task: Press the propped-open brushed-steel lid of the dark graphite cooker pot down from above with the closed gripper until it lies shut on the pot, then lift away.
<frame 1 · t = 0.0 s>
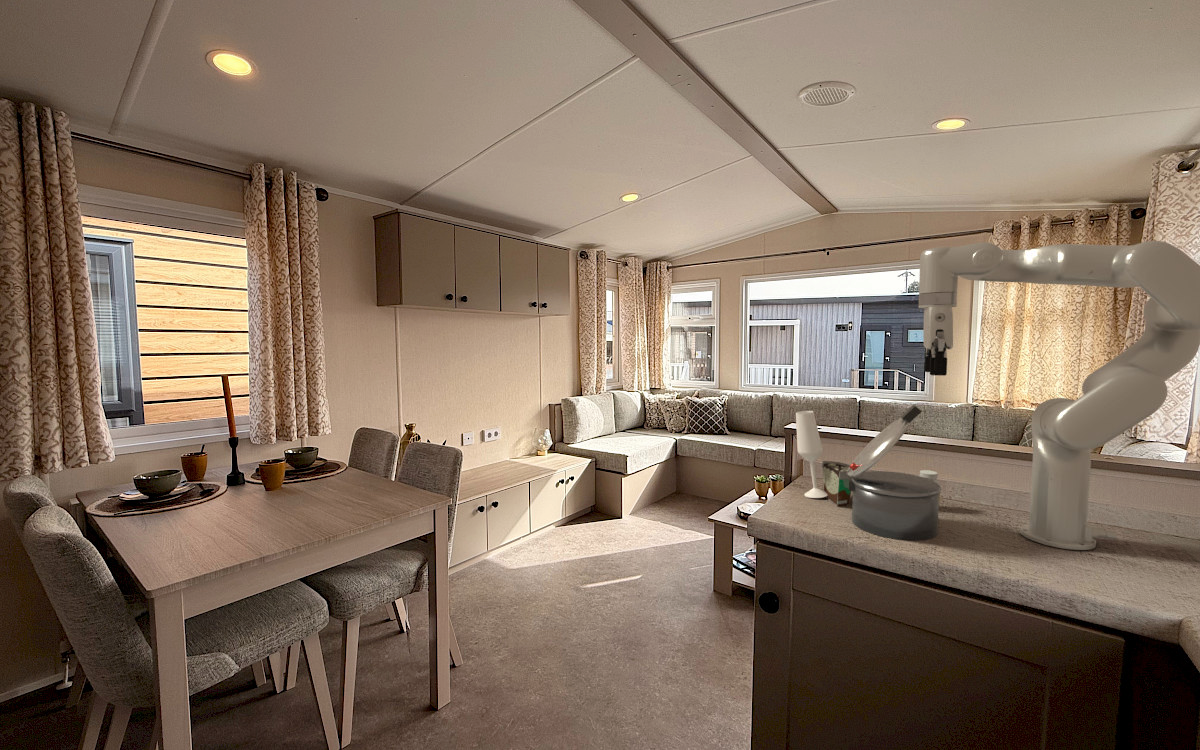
hand: (935, 373, 121), 37 cm above the worktop, tool pointing down, fingers open, 9 cm apart
supplement bottle: (927, 508, 136), on the worktop
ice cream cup: (841, 501, 142), on the worktop
cooker lid: (880, 440, 123), point 21 cm above the worktop, hinge at 50.0°
champagne flute: (816, 494, 146), on the worktop
cooker pot: (893, 525, 123), on the worktop
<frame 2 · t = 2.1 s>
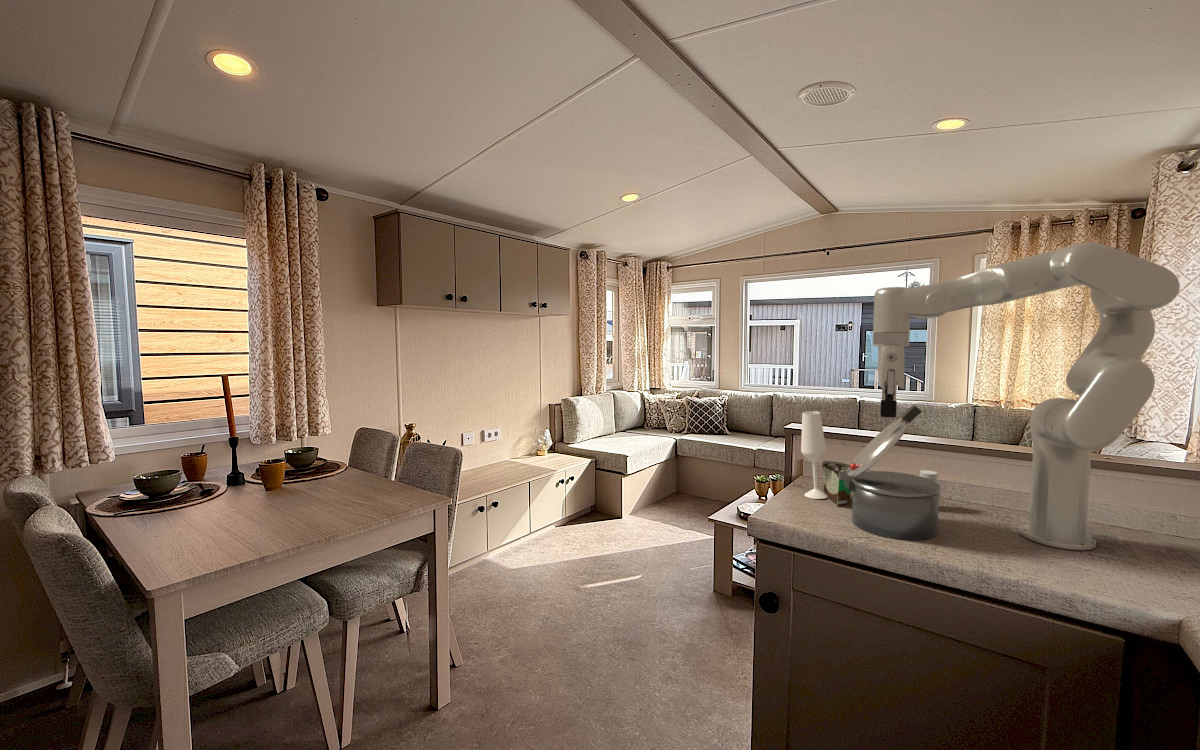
hand: (888, 416, 122), 27 cm above the worktop, tool pointing down, fingers closed
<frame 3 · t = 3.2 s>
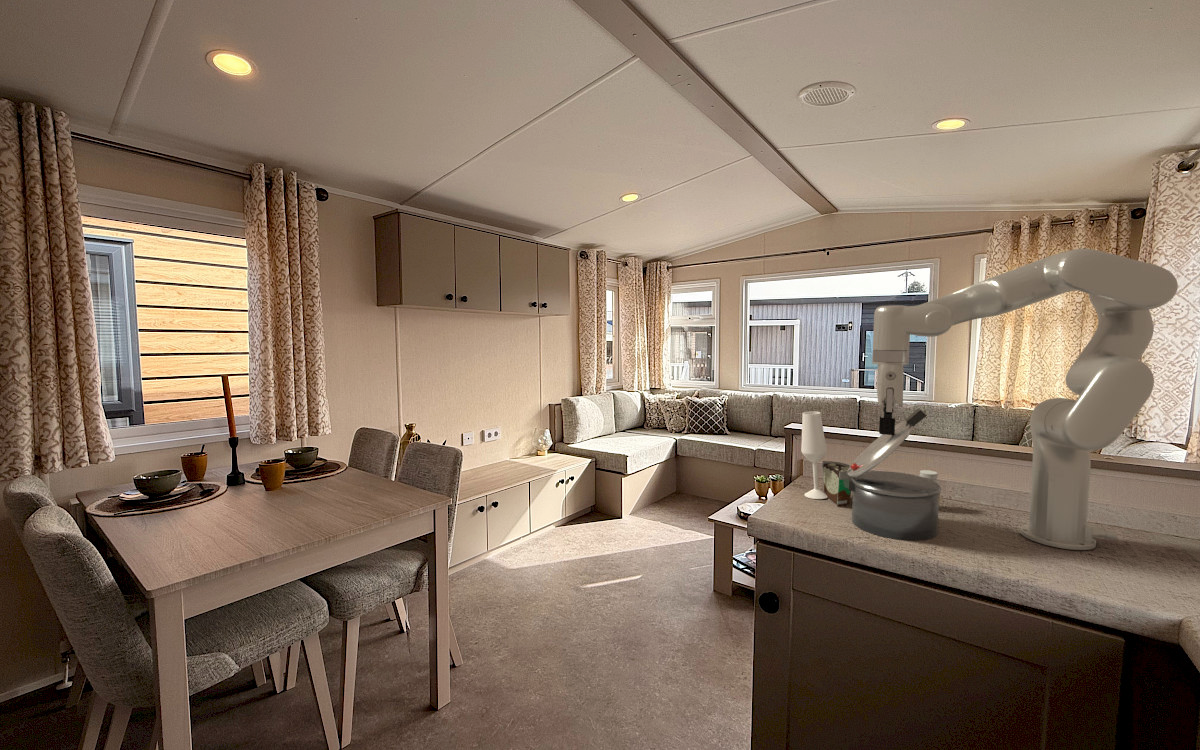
hand: (886, 433, 122), 22 cm above the worktop, tool pointing down, fingers closed
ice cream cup: (841, 501, 142), on the worktop, touching champagne flute
cooker lid: (883, 442, 123), point 20 cm above the worktop, hinge at 46.5°, touching gripper
champagne flute: (816, 495, 146), on the worktop, touching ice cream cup
everything else where it was.
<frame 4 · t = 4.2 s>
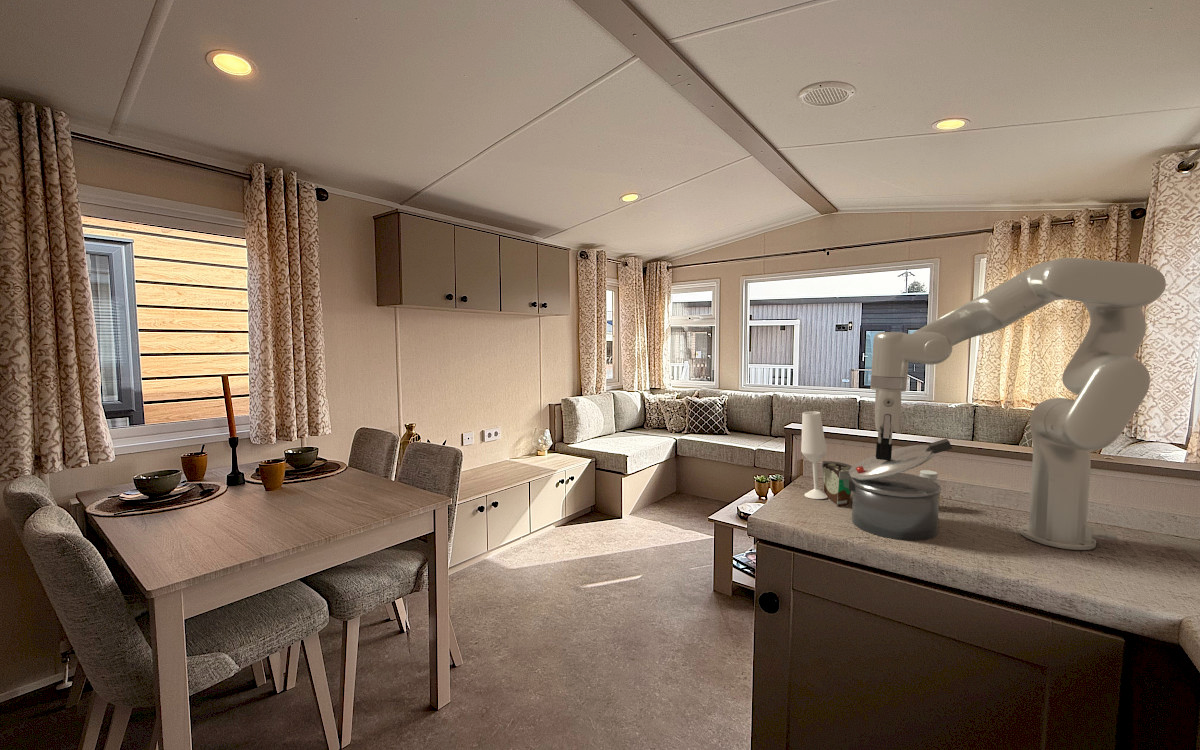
hand: (883, 459, 123), 16 cm above the worktop, tool pointing down, fingers closed
cooker lid: (896, 457, 122), point 17 cm above the worktop, hinge at 23.6°, touching gripper
champagne flute: (816, 495, 146), on the worktop, touching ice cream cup
everything else where it was.
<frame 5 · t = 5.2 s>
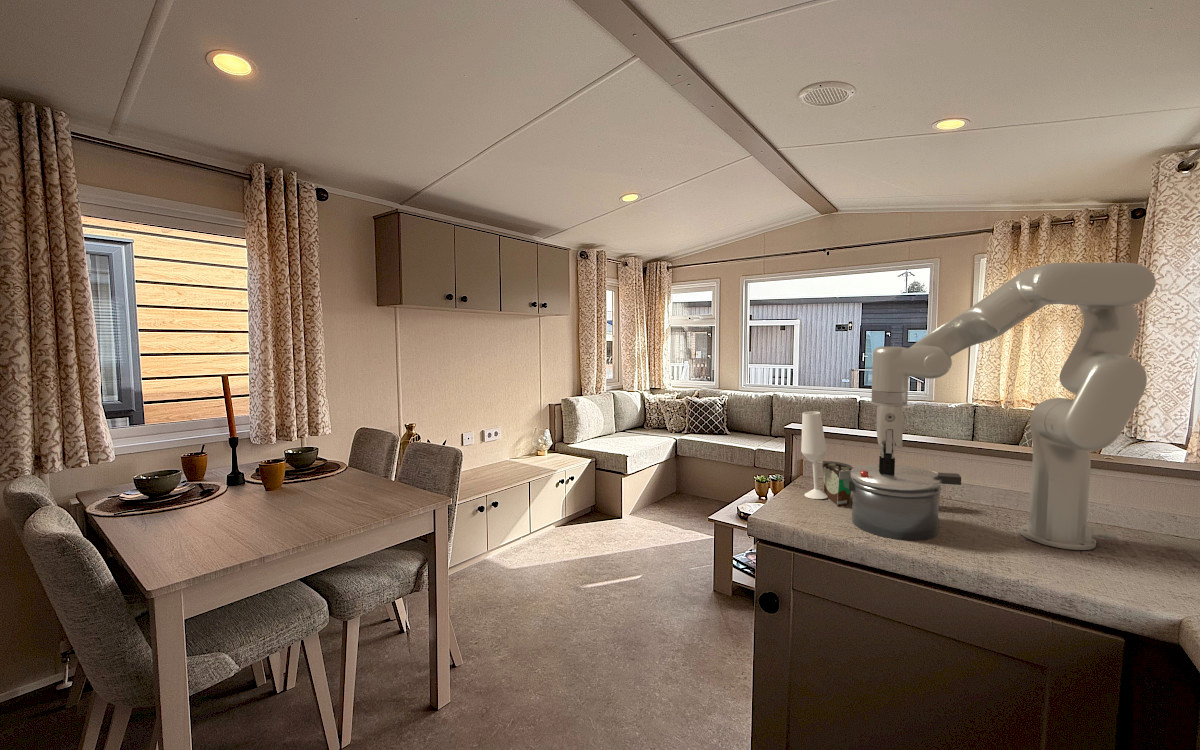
hand: (886, 473, 123), 13 cm above the worktop, tool pointing down, fingers closed
cooker lid: (902, 474, 122), point 13 cm above the worktop, hinge at 2.1°, touching gripper
champagne flute: (816, 495, 146), on the worktop, touching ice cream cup
everything else where it was.
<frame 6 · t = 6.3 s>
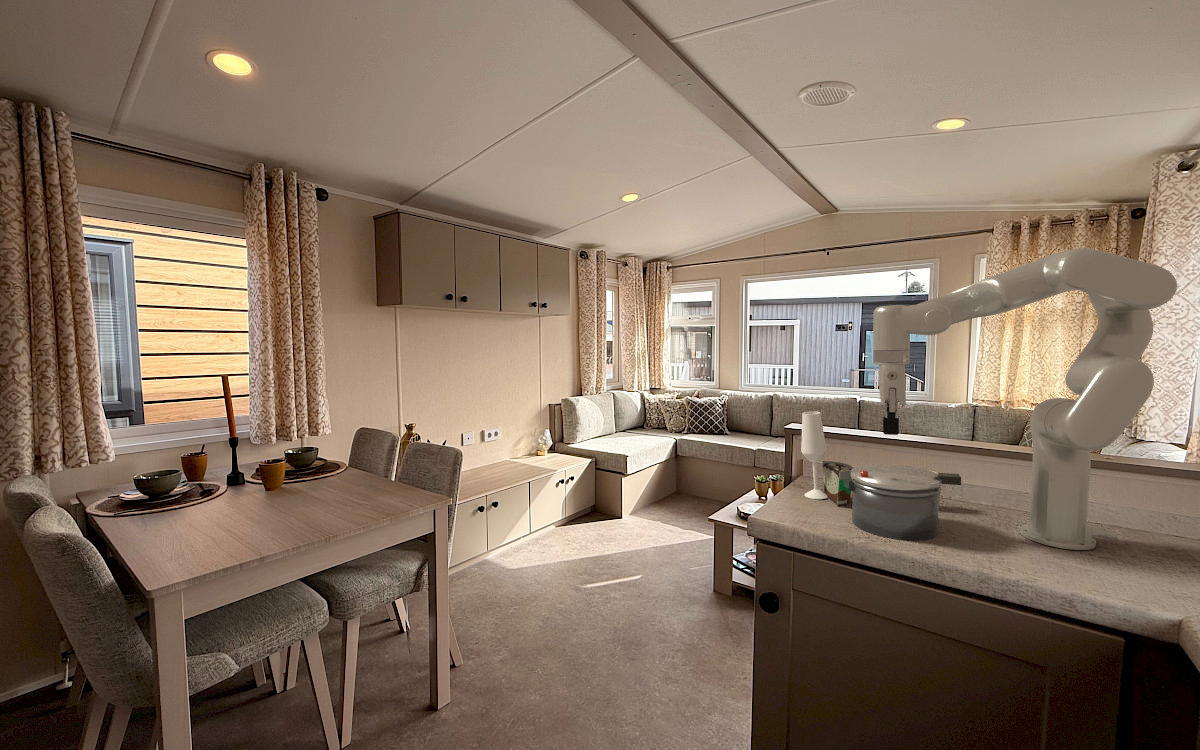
hand: (890, 433, 122), 22 cm above the worktop, tool pointing down, fingers closed
cooker lid: (902, 474, 122), point 13 cm above the worktop, hinge at 1.9°
everything else where it was.
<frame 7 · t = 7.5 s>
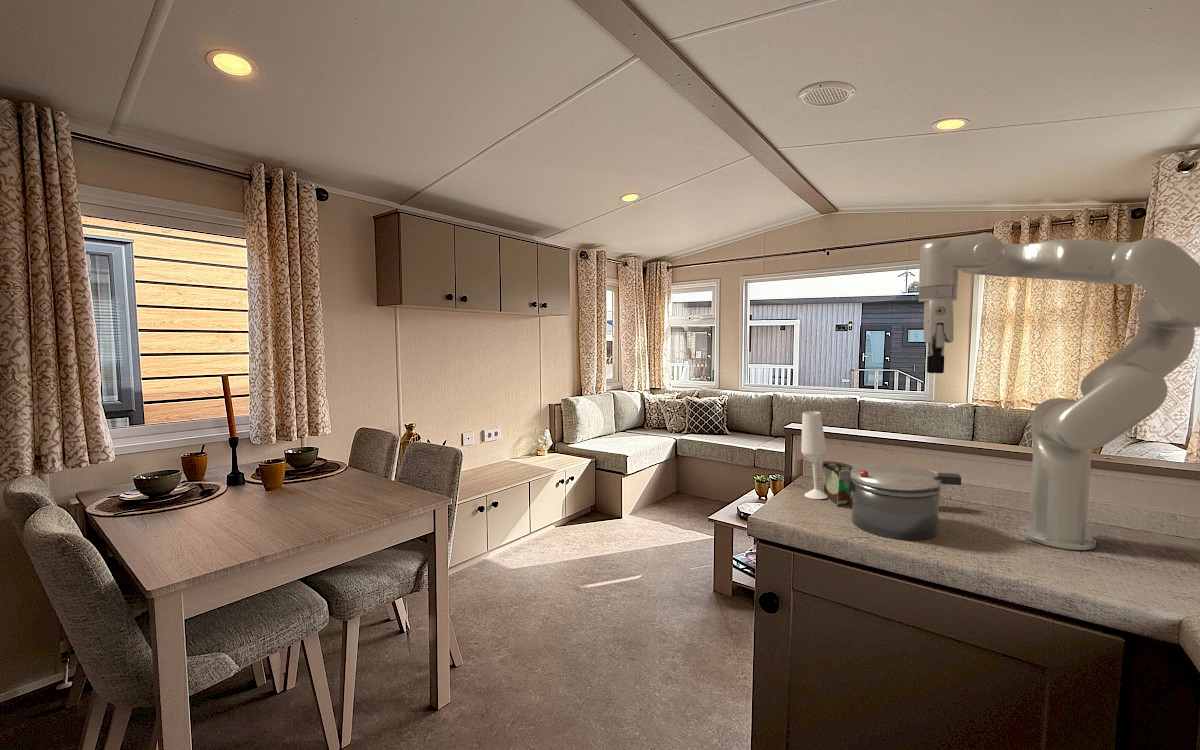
hand: (935, 372, 120), 37 cm above the worktop, tool pointing down, fingers closed
nothing on the worktop moved.
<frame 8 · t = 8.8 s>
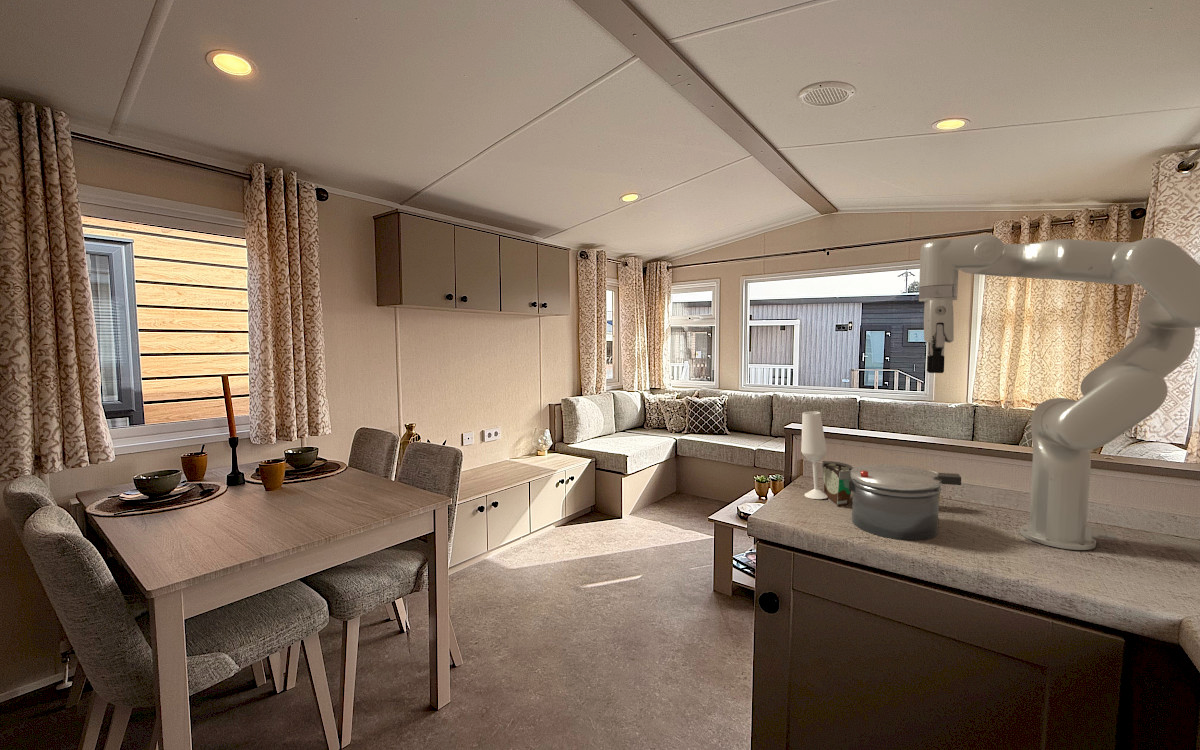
hand: (935, 372, 120), 37 cm above the worktop, tool pointing down, fingers closed
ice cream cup: (841, 501, 142), on the worktop
champagne flute: (816, 495, 146), on the worktop
everything else where it was.
at the end: cooker lid at +2° (first picture: +50°); the gripper is holding nothing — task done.
